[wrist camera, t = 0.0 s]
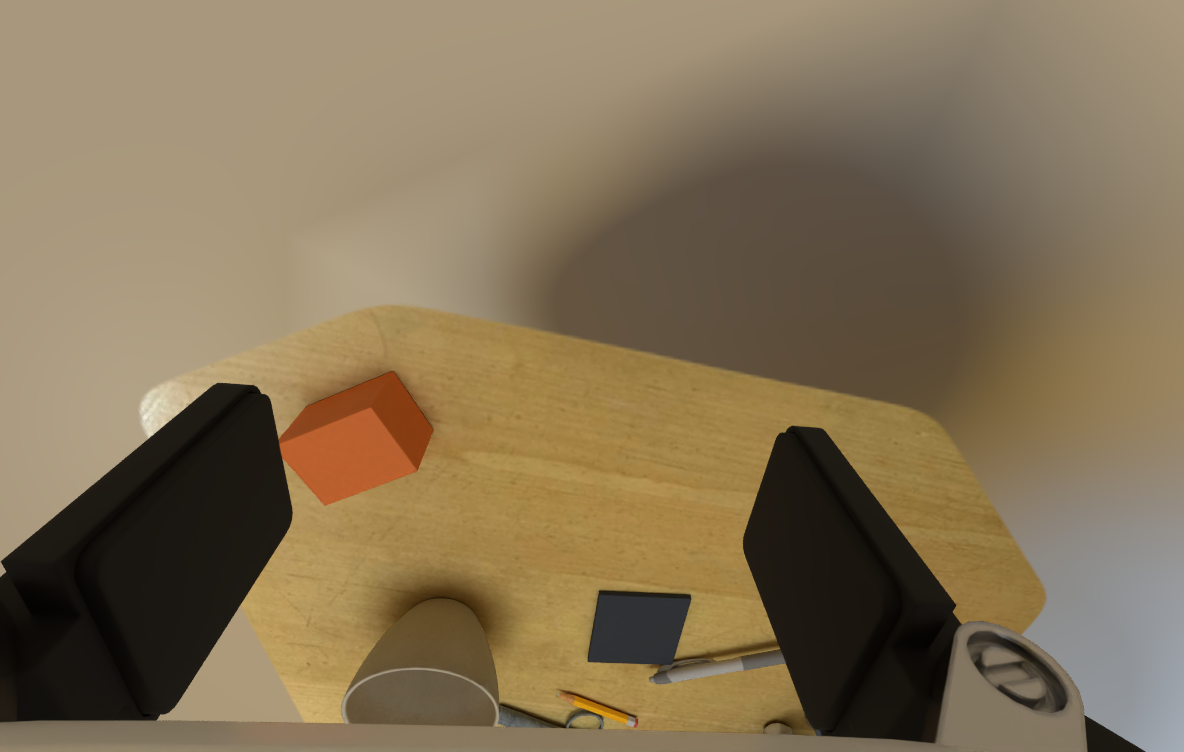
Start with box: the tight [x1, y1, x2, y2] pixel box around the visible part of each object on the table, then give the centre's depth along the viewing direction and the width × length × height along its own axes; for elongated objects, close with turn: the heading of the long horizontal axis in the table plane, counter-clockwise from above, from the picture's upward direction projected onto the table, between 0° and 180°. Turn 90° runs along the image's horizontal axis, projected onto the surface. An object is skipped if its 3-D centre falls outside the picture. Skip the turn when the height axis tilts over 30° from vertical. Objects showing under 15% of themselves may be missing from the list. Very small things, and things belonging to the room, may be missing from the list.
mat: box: [588, 591, 691, 665], centre depth 42 cm, size 8×7×1 cm
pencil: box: [556, 693, 638, 728], centre depth 46 cm, size 1×9×1 cm
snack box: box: [279, 371, 433, 506], centre depth 30 cm, size 6×4×4 cm
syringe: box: [498, 705, 604, 729], centre depth 47 cm, size 8×18×2 cm, turn 55°
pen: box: [649, 649, 786, 684], centre depth 43 cm, size 1×14×1 cm, turn 103°
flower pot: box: [341, 598, 499, 727], centre depth 37 cm, size 10×10×7 cm
